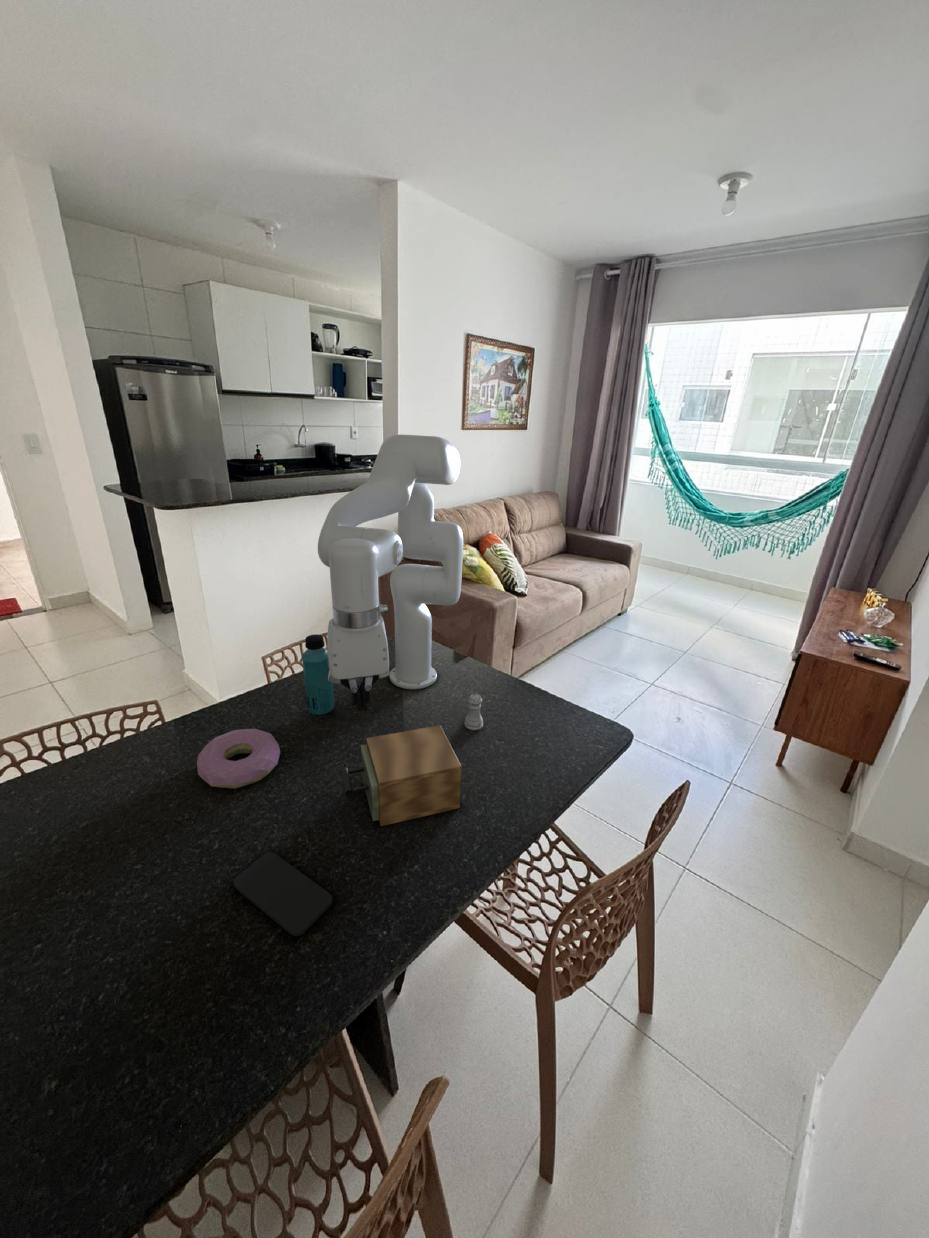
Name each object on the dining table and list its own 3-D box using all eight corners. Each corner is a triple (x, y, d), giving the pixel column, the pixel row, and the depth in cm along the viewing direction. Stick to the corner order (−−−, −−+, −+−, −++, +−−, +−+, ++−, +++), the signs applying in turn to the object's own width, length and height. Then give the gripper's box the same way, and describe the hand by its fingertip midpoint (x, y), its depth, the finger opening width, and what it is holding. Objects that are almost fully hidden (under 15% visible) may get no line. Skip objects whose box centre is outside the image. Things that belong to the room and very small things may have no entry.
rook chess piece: (461, 728, 118) (462, 698, 114) (468, 718, 121) (469, 689, 118) (479, 733, 116) (481, 703, 113) (485, 722, 120) (487, 693, 117)
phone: (296, 936, 71) (229, 881, 78) (296, 940, 71) (230, 885, 78) (335, 897, 76) (270, 849, 84) (336, 900, 77) (270, 852, 84)
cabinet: (380, 826, 90) (379, 782, 86) (367, 778, 101) (366, 738, 97) (459, 807, 95) (461, 766, 91) (439, 764, 106) (440, 725, 102)
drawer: (348, 826, 89) (346, 791, 85) (340, 782, 98) (337, 749, 95) (446, 804, 94) (447, 770, 91) (429, 764, 104) (429, 732, 101)
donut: (237, 736, 112) (234, 717, 109) (296, 753, 107) (294, 734, 105) (179, 782, 98) (174, 761, 96) (244, 804, 94) (240, 782, 92)
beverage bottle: (339, 706, 124) (333, 631, 116) (329, 722, 118) (323, 644, 110) (312, 703, 124) (305, 629, 116) (302, 719, 118) (294, 642, 110)
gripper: (396, 601, 90) (397, 690, 98) (308, 609, 86) (316, 701, 93) (405, 618, 84) (406, 711, 91) (311, 628, 79) (320, 725, 87)
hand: (361, 706), depth 92 cm, fingers closed
